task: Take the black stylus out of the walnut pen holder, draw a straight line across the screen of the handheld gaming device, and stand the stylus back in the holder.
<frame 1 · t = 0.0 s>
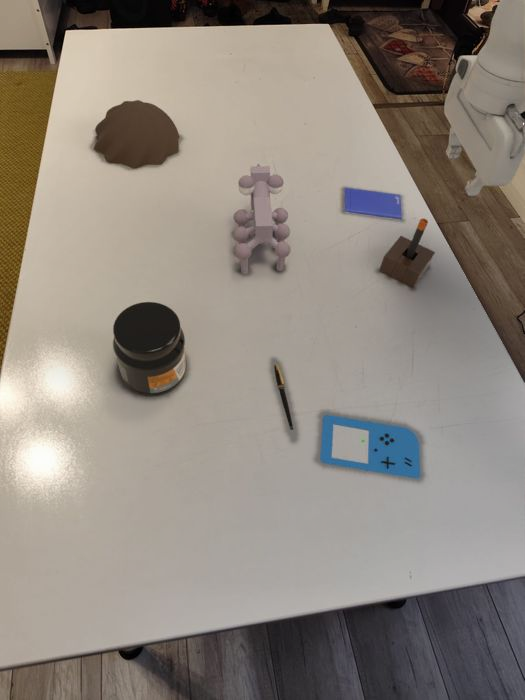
hand: (460, 173, 82), 24 cm above the table, tool pointing down, fingers open, 8 cm apart
hard drive: (371, 208, 114), on the table
fountain pen: (283, 402, 83), on the table
holder: (402, 272, 103), on the table
stylus: (412, 248, 97), in the holder
handheld gaming device: (368, 448, 79), on the table
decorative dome: (138, 147, 120), on the table
supplement container: (154, 372, 84), on the table
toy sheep: (258, 243, 104), on the table
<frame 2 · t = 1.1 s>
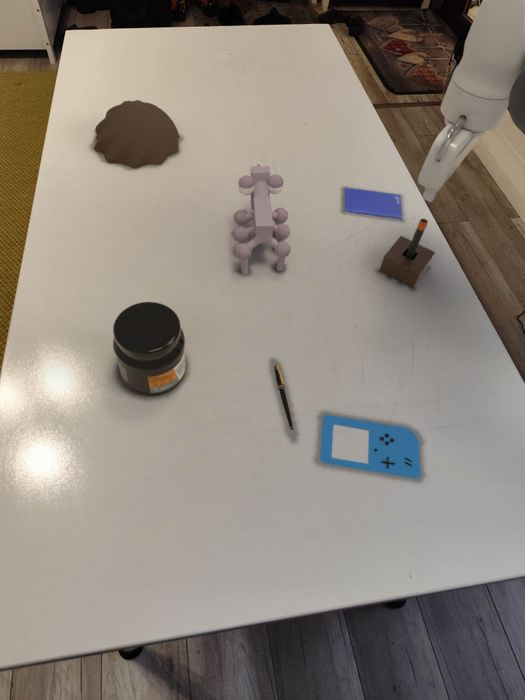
hand: (439, 184, 86), 21 cm above the table, tool pointing down, fingers open, 8 cm apart
nothing on the table moved.
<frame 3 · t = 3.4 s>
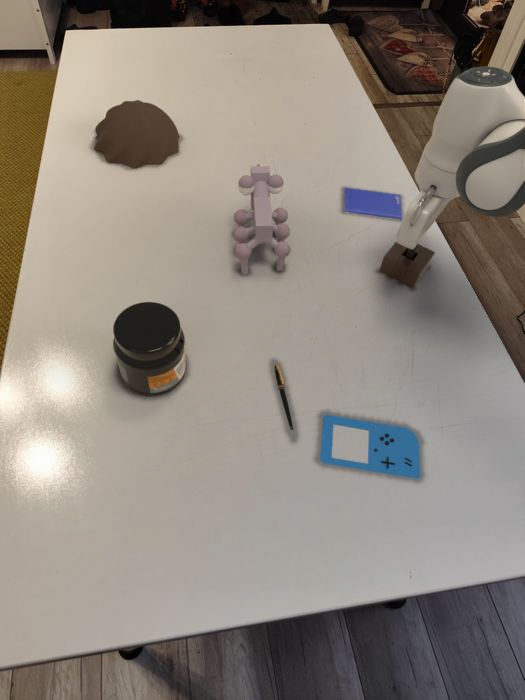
hand: (417, 237, 95), 9 cm above the table, tool pointing down, fingers closed on stylus, 1 cm apart
stylus: (412, 248, 97), in the holder, touching gripper
everything else where it was.
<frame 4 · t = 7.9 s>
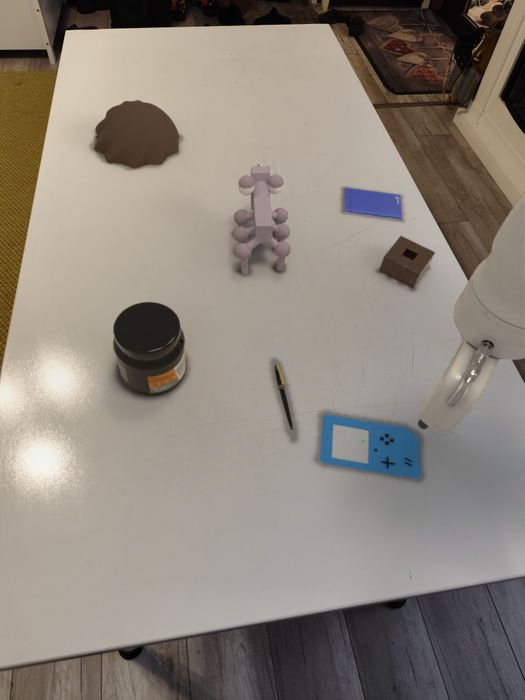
hand: (449, 388, 61), 21 cm above the table, tool pointing down, fingers closed on stylus, 1 cm apart
stylus: (440, 399, 63), point 19 cm above the table, touching gripper
everything else where it was.
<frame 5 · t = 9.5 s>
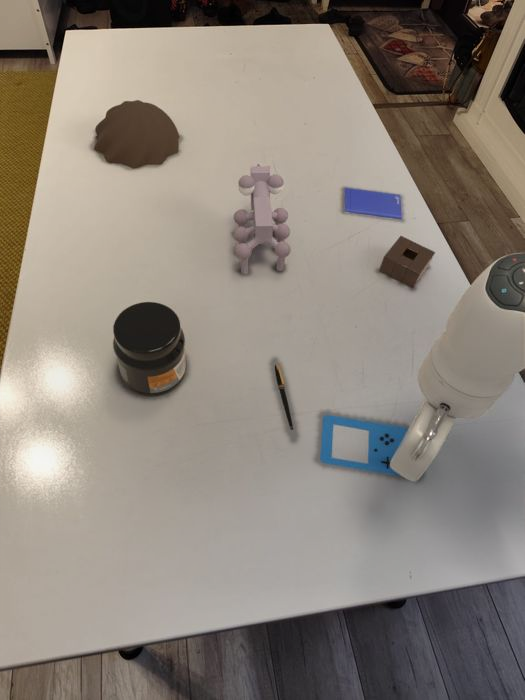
hand: (420, 433, 69), 11 cm above the table, tool pointing down, fingers closed on stylus, 1 cm apart
stylus: (413, 441, 71), point 8 cm above the table, touching gripper
everything else where it was.
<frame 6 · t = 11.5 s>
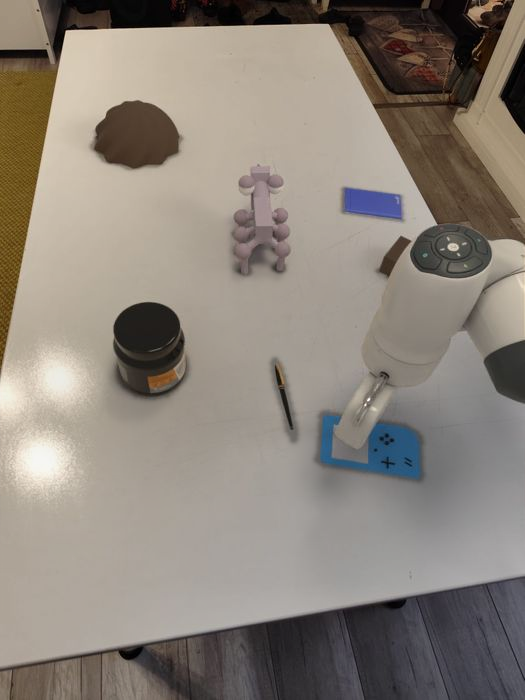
hand: (371, 407, 72), 10 cm above the table, tool pointing down, fingers closed on stylus, 1 cm apart
stylus: (366, 415, 74), point 8 cm above the table, touching gripper
everything else where it was.
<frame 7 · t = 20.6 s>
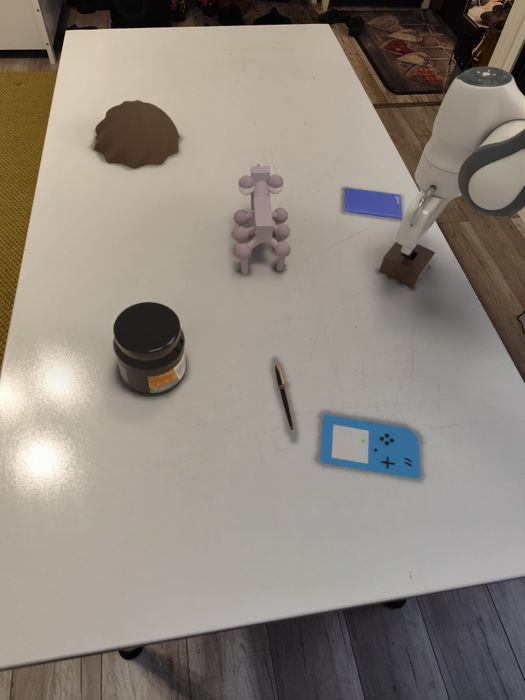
hand: (417, 237, 95), 9 cm above the table, tool pointing down, fingers open, 8 cm apart
stylus: (411, 247, 97), in the holder
everything else where it was.
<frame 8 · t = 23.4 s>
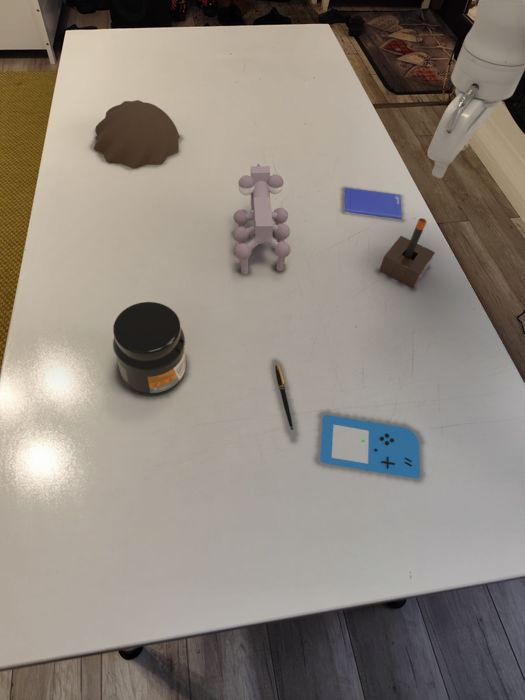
hand: (449, 161, 82), 25 cm above the table, tool pointing down, fingers open, 8 cm apart
nothing on the table moved.
at the end: stylus 0.2 cm off-centre in the holder, point 6.5 cm above the holder's base; stylus tilted 0°; handheld gaming device moved 0.0 cm from its start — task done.
